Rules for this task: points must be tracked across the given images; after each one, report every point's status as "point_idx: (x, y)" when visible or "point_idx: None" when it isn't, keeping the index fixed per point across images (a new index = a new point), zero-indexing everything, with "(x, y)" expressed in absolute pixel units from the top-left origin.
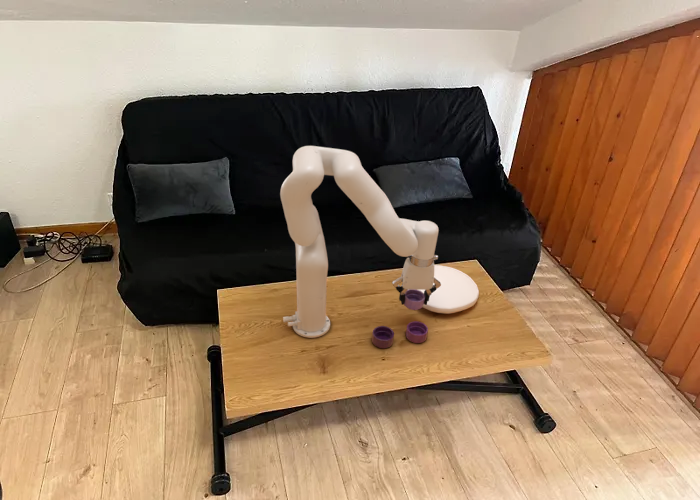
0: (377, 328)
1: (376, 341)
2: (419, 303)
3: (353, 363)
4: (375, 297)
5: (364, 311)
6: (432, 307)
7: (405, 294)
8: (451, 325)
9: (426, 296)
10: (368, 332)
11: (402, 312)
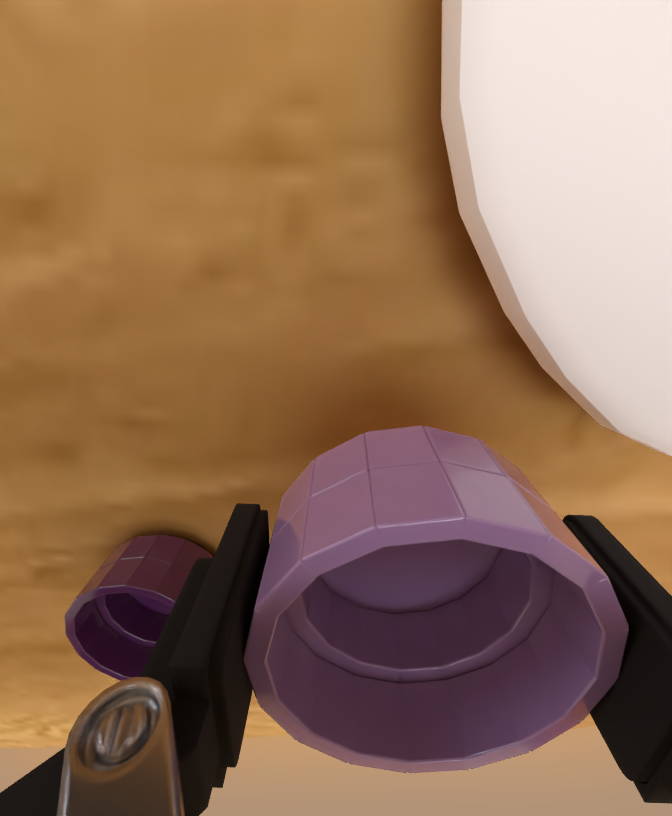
0: (97, 594)
1: (113, 647)
2: (453, 731)
3: (43, 671)
4: (87, 52)
5: (17, 292)
6: (622, 434)
7: (266, 653)
8: (665, 483)
9: (628, 771)
10: (84, 506)
11: (338, 321)
